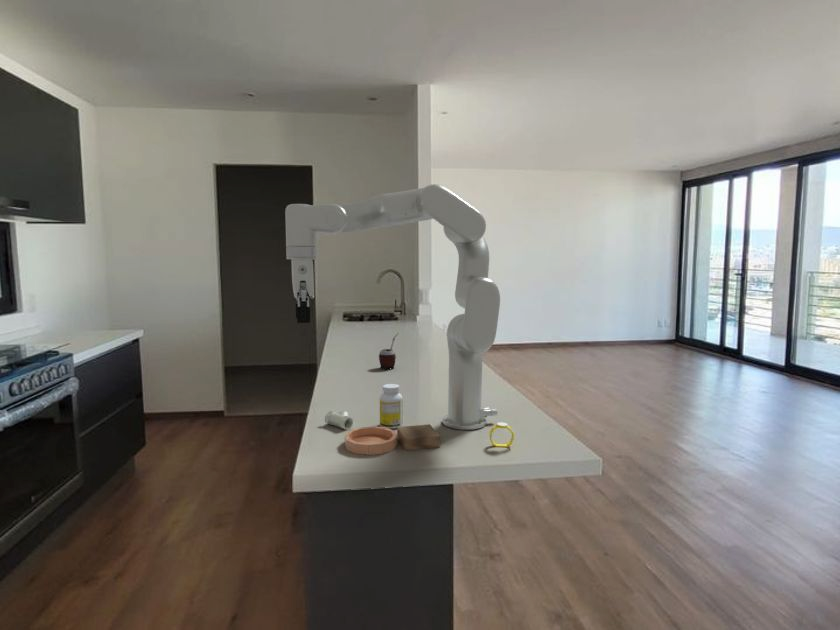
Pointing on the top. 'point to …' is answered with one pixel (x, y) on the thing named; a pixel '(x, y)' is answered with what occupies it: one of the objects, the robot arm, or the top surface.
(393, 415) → the pill bottle
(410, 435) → the walnut stand
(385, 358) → the mate gourd
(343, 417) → the pipe fitting
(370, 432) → the ring dish
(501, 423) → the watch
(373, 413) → the top surface
